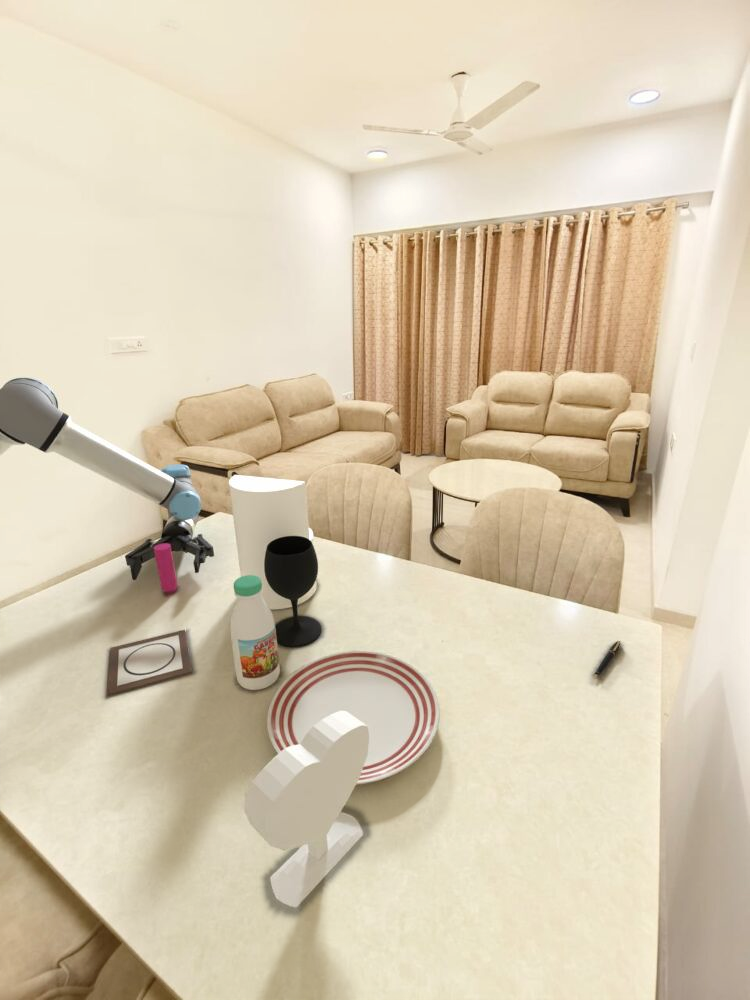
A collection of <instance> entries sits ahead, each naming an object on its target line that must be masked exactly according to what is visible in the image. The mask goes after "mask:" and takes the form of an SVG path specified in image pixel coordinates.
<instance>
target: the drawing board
mask: <svg viewBox="0 0 750 1000" xmlns="http://www.w3.org/2000/svg"><path fill="white" fill-rule="evenodd" d="M189 648H190V647H189V642H188V636H187V630H186V629H182V630H178V631H175V632H174V631H173V632H170V633H166V634H161V635H158V636H153V637H149V638H145V639H142V640H138V641H132V642H128V643H125V644H121V645H117V646H113V647H111V648H110V655H109V668H108V669H109V671H108V683H107V684H108V685H107V697H110V696H114V695H118V694H122V693H125V692H128V691H129V692H130V691H132V690H136V689H139V688H143V687H147V686H151V685H154V684H158V683H161V682H166V681H169V680H173V679H176V678H180V677H183V676H187V675H191V674H193V669H192V661H191V656H190V649H189Z"/></svg>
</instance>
